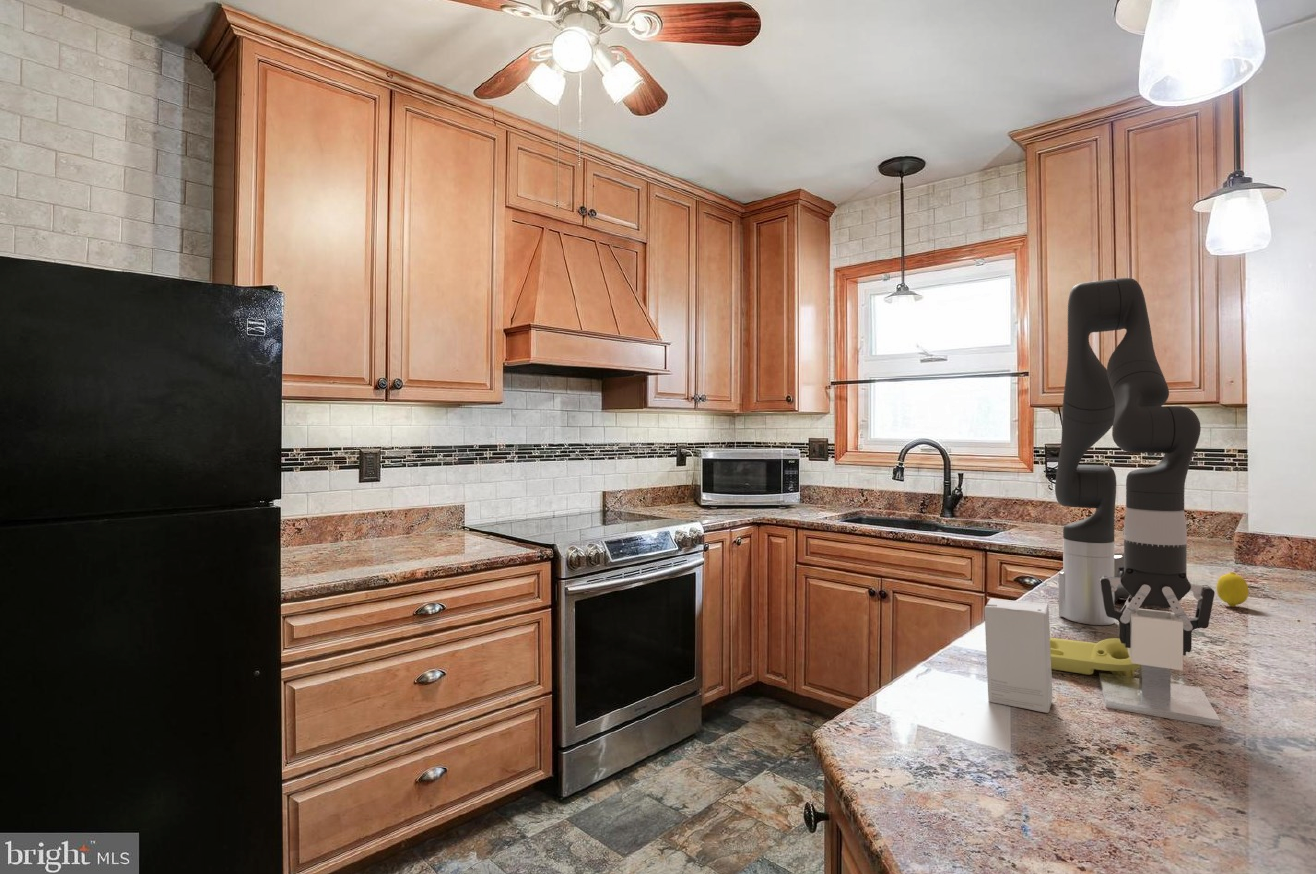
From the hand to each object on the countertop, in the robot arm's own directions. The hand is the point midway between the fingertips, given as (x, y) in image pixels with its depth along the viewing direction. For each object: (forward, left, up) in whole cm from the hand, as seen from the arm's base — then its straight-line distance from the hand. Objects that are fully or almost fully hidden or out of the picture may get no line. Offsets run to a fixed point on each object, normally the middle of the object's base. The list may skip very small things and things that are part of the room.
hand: (1154, 649), depth 99 cm
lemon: (-17, +75, -8) cm, 77 cm away
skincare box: (-10, -18, -8) cm, 22 cm away
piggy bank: (-32, +59, -8) cm, 68 cm away
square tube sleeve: (0, 0, -2) cm, 2 cm away
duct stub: (0, 0, -8) cm, 8 cm away
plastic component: (-13, +5, -8) cm, 16 cm away
